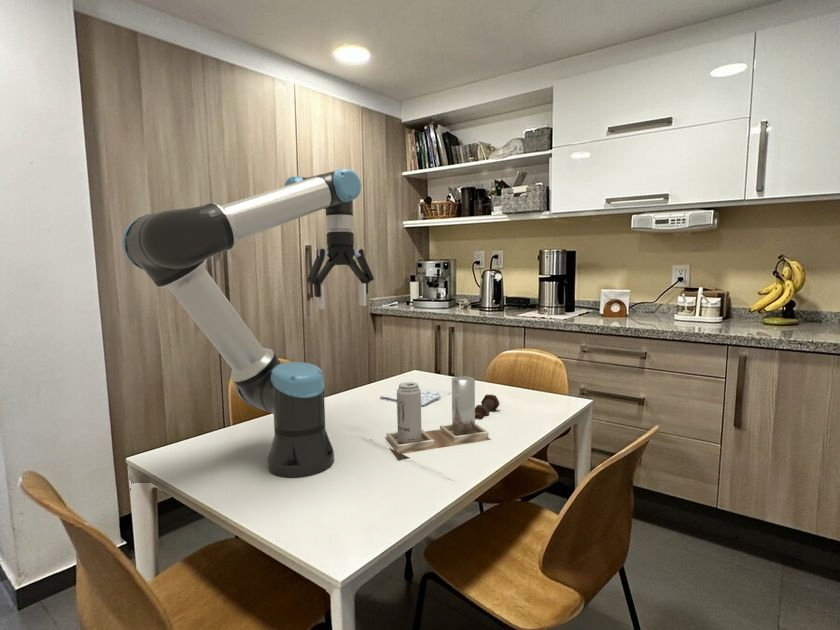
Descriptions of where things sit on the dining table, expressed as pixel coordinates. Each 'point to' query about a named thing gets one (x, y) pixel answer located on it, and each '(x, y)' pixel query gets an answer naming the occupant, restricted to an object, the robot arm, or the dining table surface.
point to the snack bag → (426, 395)
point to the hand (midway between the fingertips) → (342, 307)
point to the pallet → (434, 440)
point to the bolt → (486, 406)
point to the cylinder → (463, 405)
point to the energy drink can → (409, 413)
